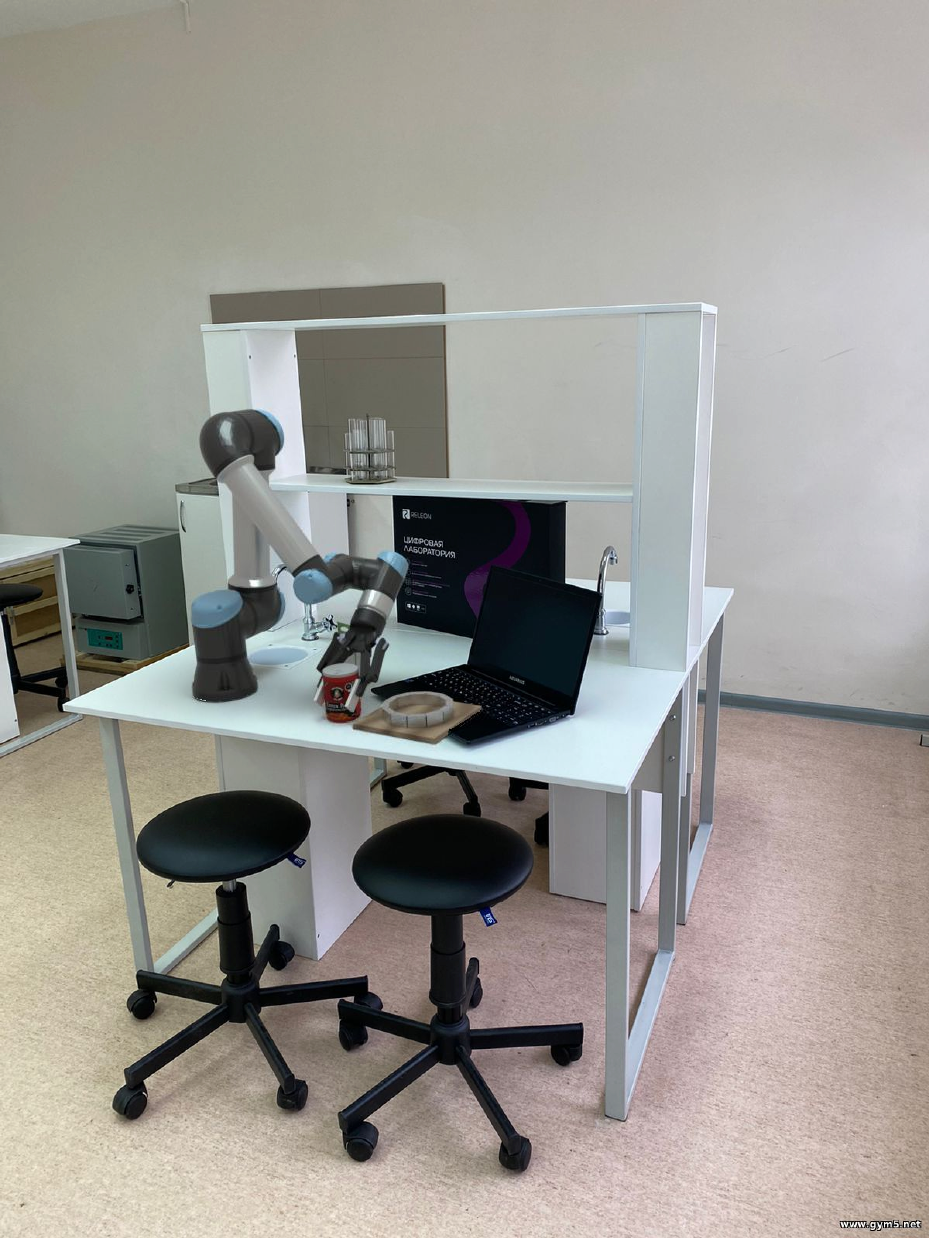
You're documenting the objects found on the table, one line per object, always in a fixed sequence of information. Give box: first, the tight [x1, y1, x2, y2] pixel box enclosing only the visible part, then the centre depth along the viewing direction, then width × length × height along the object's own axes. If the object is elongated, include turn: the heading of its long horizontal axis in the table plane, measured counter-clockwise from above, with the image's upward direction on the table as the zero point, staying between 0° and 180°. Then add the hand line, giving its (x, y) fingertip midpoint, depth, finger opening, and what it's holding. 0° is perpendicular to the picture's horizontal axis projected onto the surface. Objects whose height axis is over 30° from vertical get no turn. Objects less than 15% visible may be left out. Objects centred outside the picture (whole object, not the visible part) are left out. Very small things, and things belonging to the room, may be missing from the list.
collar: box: [381, 691, 454, 728], centre depth 202 cm, size 15×15×2 cm
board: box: [352, 701, 483, 745], centre depth 202 cm, size 20×20×1 cm
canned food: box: [321, 663, 362, 724], centre depth 205 cm, size 8×8×11 cm
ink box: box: [336, 621, 361, 677], centre depth 232 cm, size 7×4×13 cm, turn 40°
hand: (333, 706), depth 202 cm, fingers closed on canned food, 8 cm apart
